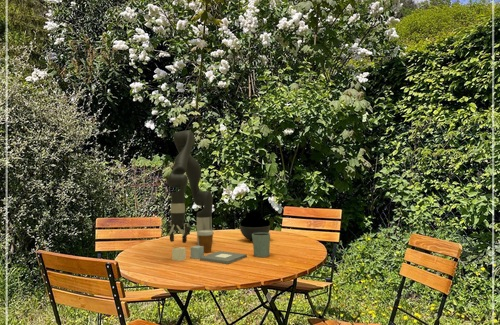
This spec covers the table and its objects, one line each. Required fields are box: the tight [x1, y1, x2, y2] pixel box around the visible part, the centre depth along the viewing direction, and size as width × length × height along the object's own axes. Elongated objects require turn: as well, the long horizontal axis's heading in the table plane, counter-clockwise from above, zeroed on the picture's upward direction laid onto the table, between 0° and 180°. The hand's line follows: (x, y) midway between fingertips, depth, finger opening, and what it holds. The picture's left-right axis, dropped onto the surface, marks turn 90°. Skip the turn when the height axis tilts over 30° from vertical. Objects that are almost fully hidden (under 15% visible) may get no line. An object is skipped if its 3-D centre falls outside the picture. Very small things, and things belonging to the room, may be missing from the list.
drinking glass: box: [252, 232, 271, 258], centre depth 239 cm, size 10×10×12 cm
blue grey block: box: [190, 245, 205, 260], centre depth 236 cm, size 5×5×6 cm
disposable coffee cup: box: [196, 230, 214, 254], centre depth 250 cm, size 10×10×12 cm
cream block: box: [171, 246, 187, 262], centre depth 232 cm, size 5×5×6 cm
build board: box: [199, 250, 248, 265], centre depth 233 cm, size 18×18×2 cm
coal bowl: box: [239, 210, 271, 242], centre depth 282 cm, size 20×20×19 cm
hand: (178, 242), depth 232 cm, fingers open, 8 cm apart
